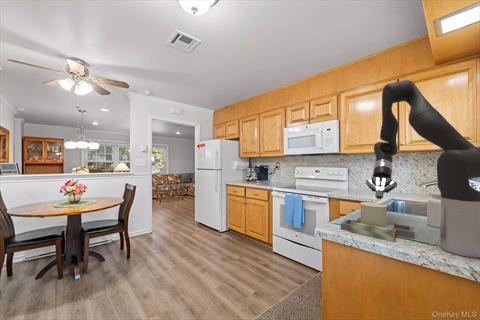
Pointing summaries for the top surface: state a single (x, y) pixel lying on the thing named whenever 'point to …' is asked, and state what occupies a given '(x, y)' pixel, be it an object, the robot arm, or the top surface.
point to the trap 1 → (346, 224)
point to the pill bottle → (434, 210)
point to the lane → (373, 230)
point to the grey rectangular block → (373, 214)
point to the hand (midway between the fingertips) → (379, 198)
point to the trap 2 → (405, 231)
